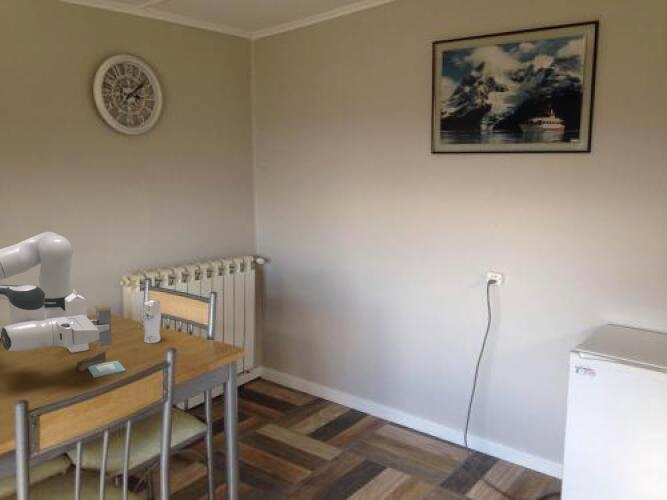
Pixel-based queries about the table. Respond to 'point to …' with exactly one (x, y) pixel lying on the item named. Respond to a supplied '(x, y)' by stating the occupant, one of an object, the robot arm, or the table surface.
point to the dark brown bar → (91, 361)
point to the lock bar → (104, 318)
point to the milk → (76, 307)
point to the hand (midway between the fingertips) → (106, 324)
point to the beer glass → (151, 321)
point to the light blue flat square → (106, 369)
